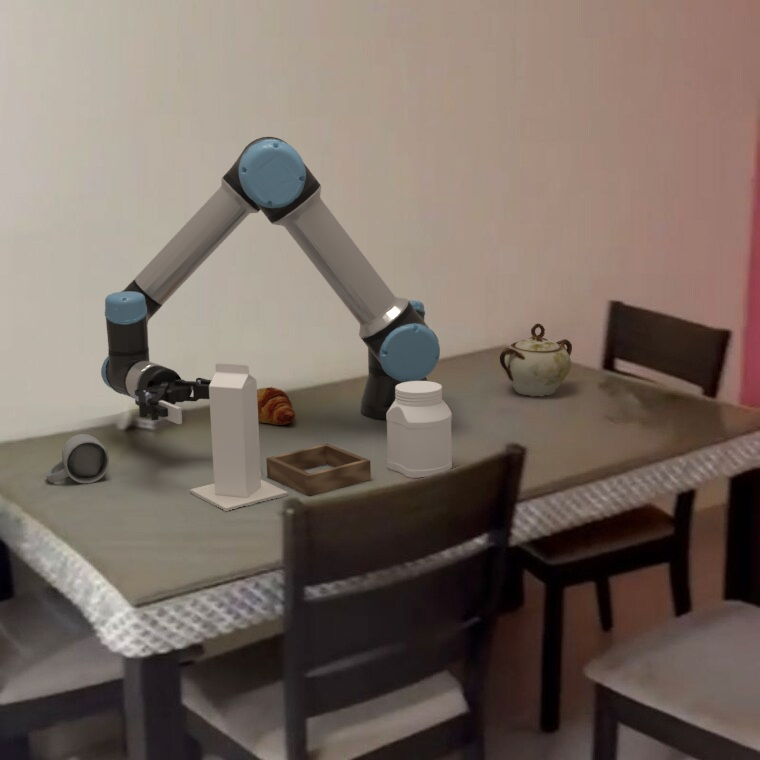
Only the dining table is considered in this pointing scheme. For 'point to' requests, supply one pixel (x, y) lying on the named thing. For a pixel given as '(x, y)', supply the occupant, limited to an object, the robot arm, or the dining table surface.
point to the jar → (419, 430)
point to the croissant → (274, 406)
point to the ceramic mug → (81, 461)
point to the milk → (234, 431)
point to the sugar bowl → (536, 364)
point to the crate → (343, 473)
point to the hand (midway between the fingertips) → (215, 408)
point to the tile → (232, 502)
